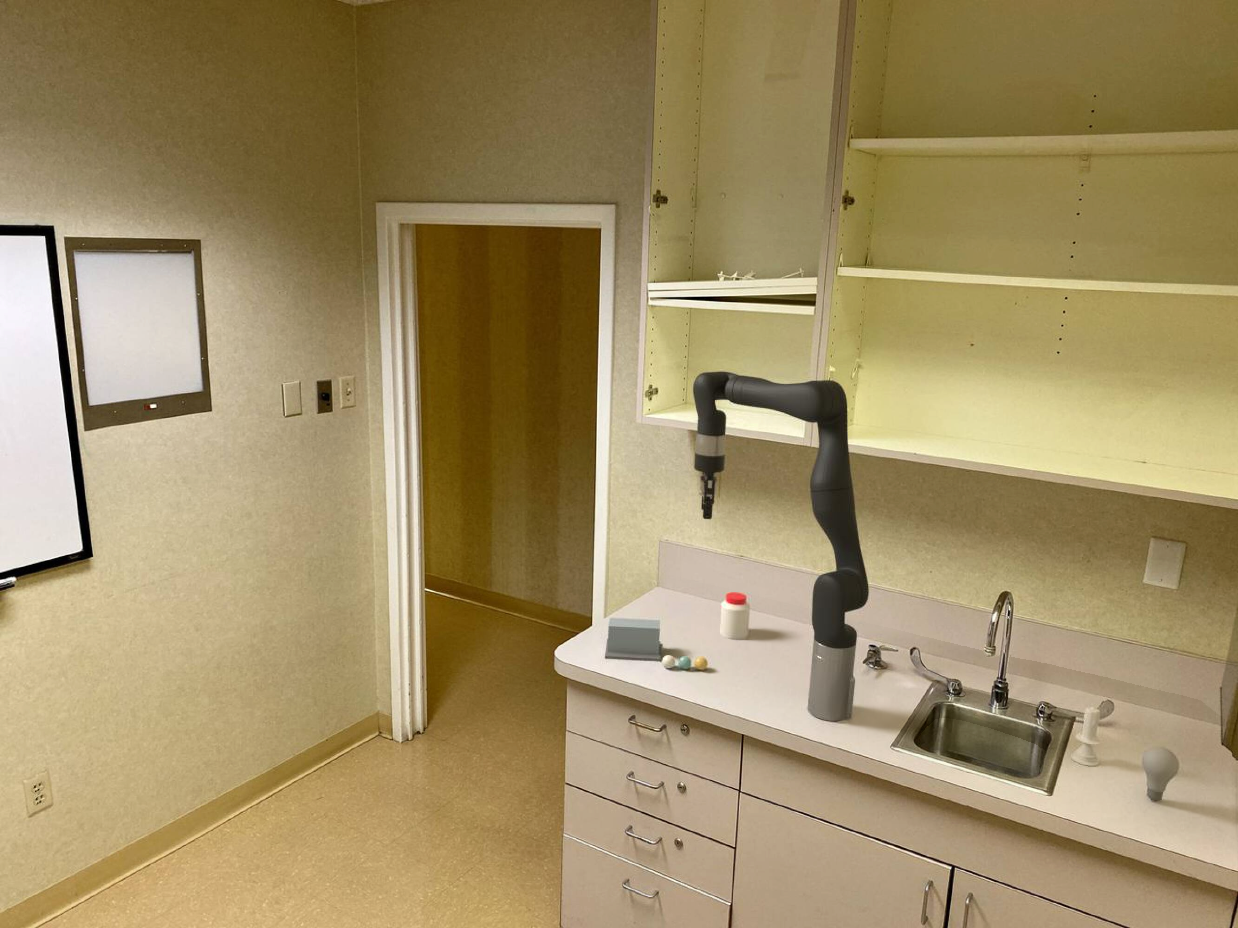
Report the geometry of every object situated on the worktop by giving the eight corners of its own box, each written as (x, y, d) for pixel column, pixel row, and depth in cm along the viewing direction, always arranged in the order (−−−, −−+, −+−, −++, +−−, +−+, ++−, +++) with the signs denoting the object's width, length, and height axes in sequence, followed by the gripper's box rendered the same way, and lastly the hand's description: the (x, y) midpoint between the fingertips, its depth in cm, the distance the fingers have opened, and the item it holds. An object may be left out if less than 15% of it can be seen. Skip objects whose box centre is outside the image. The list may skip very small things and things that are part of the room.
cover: (658, 645, 235) (659, 620, 233) (658, 654, 229) (659, 628, 228) (608, 642, 235) (609, 617, 234) (607, 651, 230) (608, 625, 228)
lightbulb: (1162, 813, 169) (1172, 760, 167) (1129, 797, 174) (1138, 745, 172) (1177, 803, 173) (1187, 751, 171) (1144, 787, 178) (1153, 737, 175)
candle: (1072, 749, 191) (1081, 697, 189) (1100, 758, 188) (1109, 705, 186) (1068, 760, 187) (1076, 707, 184) (1097, 769, 184) (1106, 715, 181)
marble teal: (690, 666, 225) (691, 654, 224) (691, 671, 222) (691, 659, 221) (677, 665, 225) (678, 653, 224) (678, 670, 222) (678, 658, 221)
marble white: (674, 665, 225) (675, 653, 224) (674, 670, 222) (675, 658, 221) (661, 664, 225) (662, 652, 224) (661, 670, 222) (662, 657, 221)
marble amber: (706, 666, 225) (707, 654, 224) (707, 672, 221) (708, 660, 221) (694, 666, 225) (694, 654, 224) (694, 671, 222) (695, 659, 221)
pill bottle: (747, 629, 249) (750, 591, 247) (748, 640, 241) (751, 601, 239) (719, 627, 250) (721, 589, 247) (719, 638, 242) (722, 599, 240)
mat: (660, 643, 238) (660, 641, 237) (660, 661, 227) (660, 658, 227) (607, 640, 238) (607, 638, 238) (604, 658, 227) (604, 655, 227)
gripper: (727, 458, 218) (723, 522, 221) (723, 446, 232) (719, 507, 235) (696, 456, 218) (692, 521, 222) (693, 445, 232) (690, 506, 236)
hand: (706, 514), depth 228 cm, fingers open, 8 cm apart
